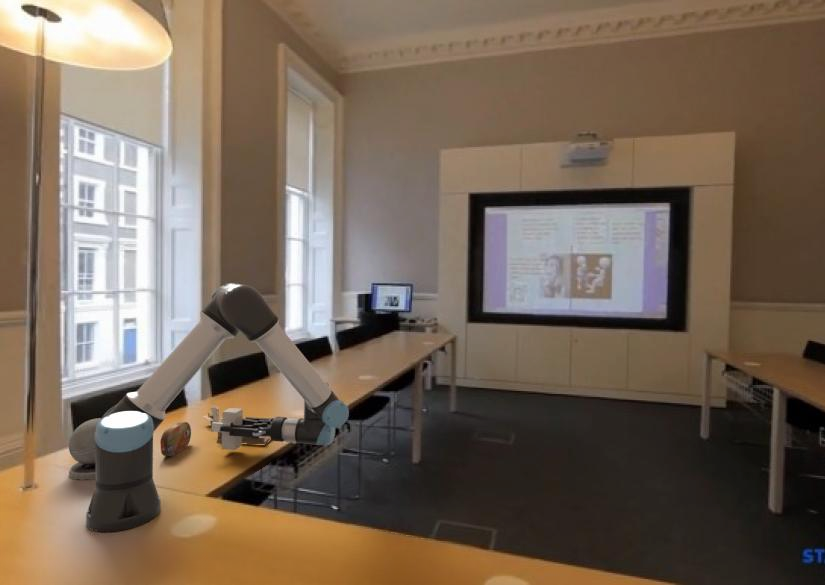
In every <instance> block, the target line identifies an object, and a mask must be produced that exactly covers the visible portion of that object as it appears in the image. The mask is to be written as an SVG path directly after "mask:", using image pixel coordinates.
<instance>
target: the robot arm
mask: <svg viewBox="0 0 825 585" xmlns="http://www.w3.org/2000/svg"><path fill="white" fill-rule="evenodd" d="M199 315H200V316H199V317H200V319H199V321H198V322H197V323H196V325H194V327H193V328H192V329H191V330H190V331H189V333H188V334H187V335H186V336H185V337H184V338H183V339H182V340H181V341H180V343H179V344H178V345H177V346H176V347H175V348H174V349H173V350H172V352H170V354H168V356H167V357H166V358H165V359H164V360H163V362H162V363H161V364H160V365H159V366H158V367H157V369H155V370H154V371H153V373H152V374H151V375H150V376H149V377H148V378H147V380H145V382H144V383H143V384H142V385H141V386H140V387H139V388H138V389H137V390H136V391H133V392H132V391H130V392H127V393H126V394H125V395H124V396H123V398H122V399H121V400H119V402H118V403H117V404H115V405H114V406H112V407H111V408H109V409H108V410H107V411H106V412H105V413H104V414H103V416H102V417H101V418H102V419H101V420H100V421H99V423H98V424H97V427H96V432H95V441H96V479H95V488H94V491H93V495H92V497H91V500H90V503H89V506H88V508H87V511H86V514H85V516H86V517H85V518H86V519H85V524H86V527H87V526H88V527H89V528H91V529H93V530H92V531H94V530H97V531H96V532H99V531H105V532H104V533H107V532H106V531H114V532H119V531H118V530H121V531H125V530H126V531H127V530H130V529H134V528H136V527H139V526H142V525H143V524H146V523H148V522H150V521H151V520H153V519H154V518H156V516H158V515H159V514H160V512H161V508H162V507H161V505H162V504H161V503H162V502H161V497H160V495H159V493H158V490H157V487H156V484H155V481H154V475H153V471H154V433H155V432H156V430H157V429H158V427H159V426H160V425H161V424H162V423H163V421H165V420H166V410H167V408H168V407H169V406H170V405H171V403H172V402H173V401H174V400H175V399H176V397H177V396H178V395H179V394H180V393H181V392H182V391H183V390H184V388H186V386H187V385H188V384H189V383H190V381H192V379H193V377H195V375H196V374H197V373H198V372H199V371H200V370H201V368H202V367H204V365H206V363H207V361H208V360H210V358H211V357H212V356H213V355H214V354H215V352H216V351H217V350H218V349H219V347H220V346H221V345H222V344H223V343H224V342H225V341H226V340H228V339H234V338H236V337H237V335H238V334H239V333H241V334H242V335H243V336H244V337H245V338H246V339H247V340H248V341H249V342H250V343H256V345H257V346H258V347H259V348H260V349H261V350H262V351H263V353H264V354H265V355H266V356H267V358H269V360H270V361H271V362H272V363H273V365H274V366H275V367H276V369H278V371H280V372H279V373H281V374H282V375H283V376H284V378H285V379H286V380H287V381H288V382H289V383H290V385H291V386H292V387H293V389H295V390H296V392H297V393H298V394H299V395H300V396H301V397H302V399H303V418H301V417H285V416H276V417H275V416H274V418H272V417H271V418H270V417H269V418H268V417H267V418H266V417H253V416H252V417H250V416H246V417H245V418H243V417H242V425H233V423H222V417H219V423H217V422H213V423H212V426H211V432H215V433H218V432H226V433H229V436H239V437H251V438H255V439H258V438H259V435H261V436H267V435H269V436H270V437H271V439H272V440H271V441H272V442H282V443H283V442H285V443H292V444H294V445H295V444H296V443H297V444H298V443H299V444H308V445H309V444H310V445H316V446H328V445H331V444H332V443H333V442H334V439H335V436H336V428H339V427H341V426H343V425H344V424H345V423H346V422H347V420H348V419H349V416H350V415H349V414H350V411H349V408H348V405H347V404H346V403H345V402H344V401H343V400H340V399H339V396H337V395H336V394H335V392H334V391H333V390H332V389H331V388H330V385H329V383H328V382H327V381H325V380H324V379H323V378H322V377H321V375H320V374H319V373H318V372H317V370H316V369H315V368H314V367H313V366H312V364H311V363H310V361H309V360H308V359H307V358H306V356H304V354H303V353H302V351H300V349H299V348H298V347H297V346H296V344H295V342H293V341H292V339H291V338H290V336H288V334H287V333H286V332H285V331H284V329H283V328H282V327H281V326H280V324H279V323H280V318H279V317H278V316H277V315H276V313H275V312H274V310H273V309H272V307H271V306H270V305H269V304H268V302H267V301H266V299H265V298H264V297H263V295H262V294H261V292H260V291H258V290H257V289H256V288H254V287H253V286H250V285H247V284H242V283H237V282H236V283H235V282H233V283H226V284H224V285H222V286H220V287H218V288H217V289H216V290H215V291H214V293H213V294H212V296H211V299H210V301H209V302H208V303H207V304H206V305H205V306H204V308H203V309H201V310H200V313H199ZM88 527H87V528H88ZM89 528H88V529H89ZM91 529H90V530H91Z"/></svg>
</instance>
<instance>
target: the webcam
mask: <svg viewBox="0 0 825 585" xmlns="http://www.w3.org/2000/svg"><path fill="white" fill-rule="evenodd" d="M101 419H102V417H101V418H100V417H99V418H93V419H89V420H87V421H84V422H82V423H81V424H79V426H78V427H76V428H75V430H74V431H73V432H72V434H71V435H70V437H69V440H68V451H69V454H70V455H71V457H72V459H73V460H75V462H76V463H74V464H73V465H72V466H71V467H70V468H69V470H68V471H69V472H68V476H69V477H70V478H71V479H73V480H77V479H90V480H96V441H95V432H96V427H97V424H98V423H99V421H100V420H101Z"/></svg>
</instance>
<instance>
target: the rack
mask: <svg viewBox="0 0 825 585" xmlns="http://www.w3.org/2000/svg"><path fill="white" fill-rule="evenodd" d="M270 439H271V437H270V436H269V435H267V436H261V435H259V438H258V439H255V438H251V437H242V443H247V444H266V443H267V442H268V441H269V440H270ZM219 442H222V432H217V439H216V443H219ZM268 443H269V442H268ZM268 443H267V444H268ZM247 444H246V445H247ZM267 444H266V445H267Z"/></svg>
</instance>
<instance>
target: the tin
mask: <svg viewBox="0 0 825 585" xmlns="http://www.w3.org/2000/svg"><path fill="white" fill-rule="evenodd" d="M191 437H192V429H191V424H189V423H188V422H187V421H184V422H178V423H175V424H173V425H172V426H171V427H170V428H168V429H166V430H164V431H163V433H162V435H161V438H160V441H159V442H160V452H161V455H162V456H164V457H175V456H176V455H178V454H179V453H181V450H182V451H183V450H184V449H185V447H186V448H187V447H188V446H189V443H190V441H191ZM177 453H178V454H177Z"/></svg>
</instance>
